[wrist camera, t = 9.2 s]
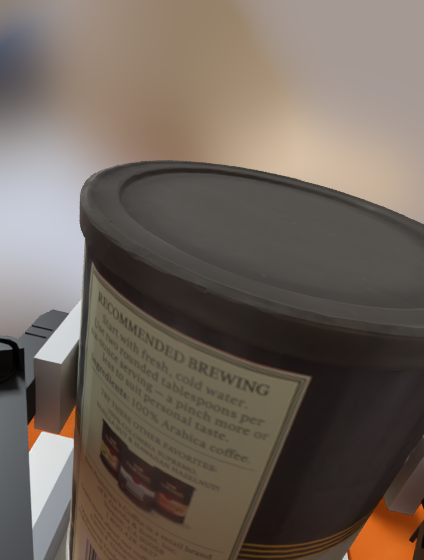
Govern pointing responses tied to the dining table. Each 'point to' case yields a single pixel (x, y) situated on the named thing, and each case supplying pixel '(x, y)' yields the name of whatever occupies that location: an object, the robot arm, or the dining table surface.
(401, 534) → the dining table surface
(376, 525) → the dining table surface
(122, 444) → the coffee can
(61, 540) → the caddy
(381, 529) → the dining table surface
